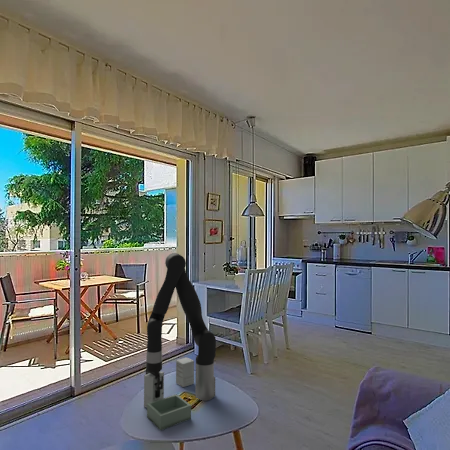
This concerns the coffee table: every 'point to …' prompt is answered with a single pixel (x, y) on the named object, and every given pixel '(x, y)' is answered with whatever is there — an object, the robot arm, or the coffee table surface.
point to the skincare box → (151, 388)
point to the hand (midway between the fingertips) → (153, 394)
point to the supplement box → (184, 372)
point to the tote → (168, 412)
